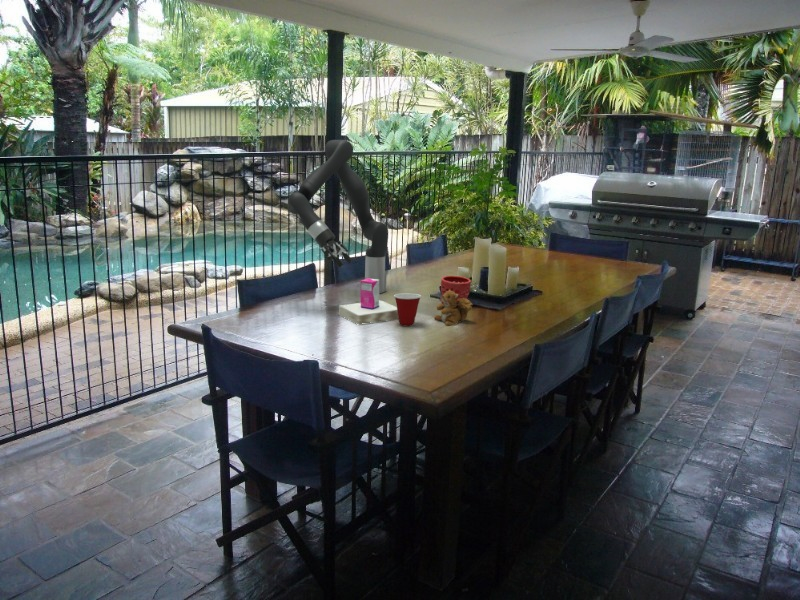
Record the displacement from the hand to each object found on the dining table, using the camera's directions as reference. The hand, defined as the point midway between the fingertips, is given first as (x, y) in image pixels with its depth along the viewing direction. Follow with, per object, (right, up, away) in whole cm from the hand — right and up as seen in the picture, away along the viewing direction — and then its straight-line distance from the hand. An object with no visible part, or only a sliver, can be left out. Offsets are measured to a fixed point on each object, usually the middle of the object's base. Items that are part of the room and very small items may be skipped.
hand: (346, 264), depth 267 cm
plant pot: (+46, -17, +25) cm, 55 cm away
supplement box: (+10, -18, +1) cm, 20 cm away
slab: (+9, -22, +1) cm, 24 cm away
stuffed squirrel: (+43, -24, -1) cm, 49 cm away
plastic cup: (+24, -24, -6) cm, 35 cm away
